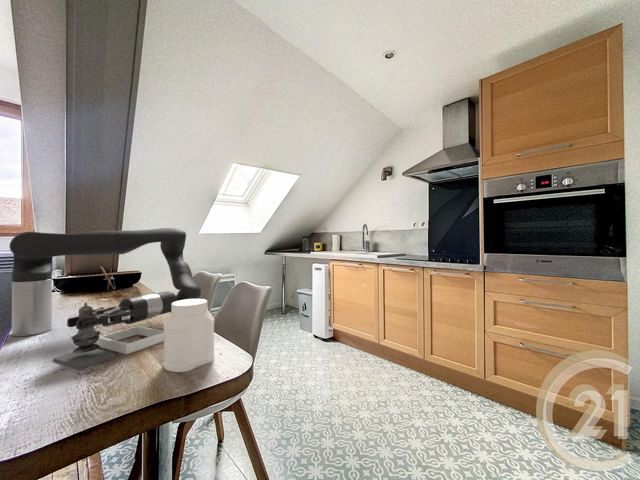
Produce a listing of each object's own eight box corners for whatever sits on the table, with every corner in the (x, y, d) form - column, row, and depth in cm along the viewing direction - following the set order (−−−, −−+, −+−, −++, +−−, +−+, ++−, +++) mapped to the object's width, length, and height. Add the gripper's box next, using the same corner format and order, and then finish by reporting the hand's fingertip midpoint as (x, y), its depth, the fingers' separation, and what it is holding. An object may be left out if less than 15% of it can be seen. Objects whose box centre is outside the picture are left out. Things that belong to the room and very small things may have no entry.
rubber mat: (53, 360, 70) (53, 357, 70) (90, 349, 78) (90, 346, 78) (79, 369, 65) (79, 367, 65) (116, 356, 73) (116, 354, 73)
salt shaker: (84, 354, 68) (83, 305, 68) (65, 352, 69) (64, 304, 69) (106, 345, 74) (106, 300, 74) (88, 343, 75) (87, 299, 75)
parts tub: (96, 346, 80) (96, 337, 80) (138, 333, 91) (138, 325, 91) (126, 354, 74) (126, 345, 74) (167, 339, 85) (167, 331, 85)
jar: (176, 376, 62) (176, 309, 62) (156, 364, 68) (156, 303, 68) (221, 358, 72) (221, 300, 72) (200, 349, 77) (200, 296, 77)
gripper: (127, 293, 88) (57, 306, 72) (156, 297, 82) (88, 312, 66) (127, 317, 88) (57, 335, 72) (157, 323, 82) (88, 343, 66)
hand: (72, 324), depth 69 cm, fingers closed on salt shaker, 3 cm apart
